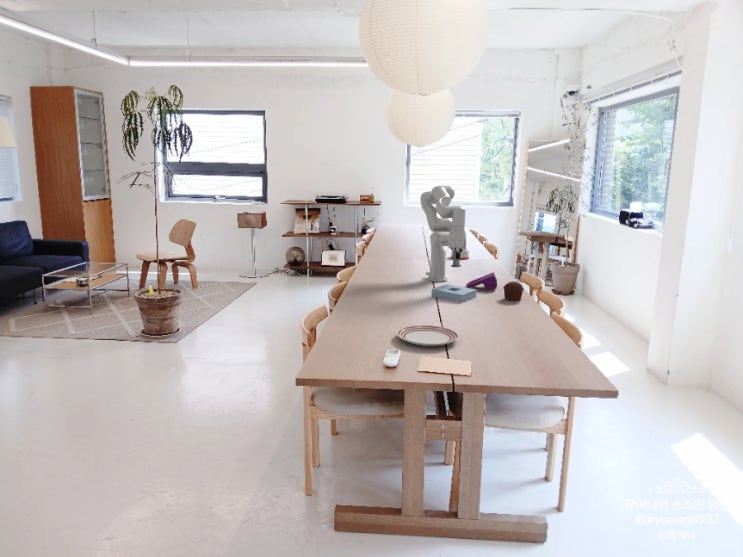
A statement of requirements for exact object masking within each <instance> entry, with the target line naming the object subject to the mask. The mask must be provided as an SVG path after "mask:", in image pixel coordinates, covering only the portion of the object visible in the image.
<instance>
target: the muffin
mask: <svg viewBox="0 0 743 557" xmlns="http://www.w3.org/2000/svg"><path fill="white" fill-rule="evenodd" d="M502 288H503V294H504V296H503V297H504V300H505V301H507V302H519V301H521V300H522V296H523V292H524V290H525V289H524V286H523V284H521V283H520V282H517V281H509V282H507V283H505V285H504V286H503V287H502Z"/></svg>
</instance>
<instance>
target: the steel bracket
mask: <svg viewBox="0 0 743 557" xmlns="http://www.w3.org/2000/svg"><path fill="white" fill-rule="evenodd" d="M457 251H458V250H454V253H453V260H452V264H451V265H450V267H451V268H461V267H462V265H461V263H460V261H461V260H460V259H458V260H457V259H456V257H457Z"/></svg>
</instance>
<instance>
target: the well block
mask: <svg viewBox="0 0 743 557" xmlns="http://www.w3.org/2000/svg"><path fill="white" fill-rule="evenodd" d="M431 296H432V297H431V298H436V297H437V299H441V298H443V299H442V300H446V299H448V300H447V301H451V300H452V301H451V302H456V301H457V303H460V302H461V304H463V303H465V302H468V301H471V300H473V299H475V298H477V289H475V288H467V287H463V286H459V285H453V284H449V283H446V284H443V285H439V286H437V287H436V286H435V287H434V288H431ZM474 297H475V298H474ZM472 298H473V299H472ZM467 300H468V301H467Z"/></svg>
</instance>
